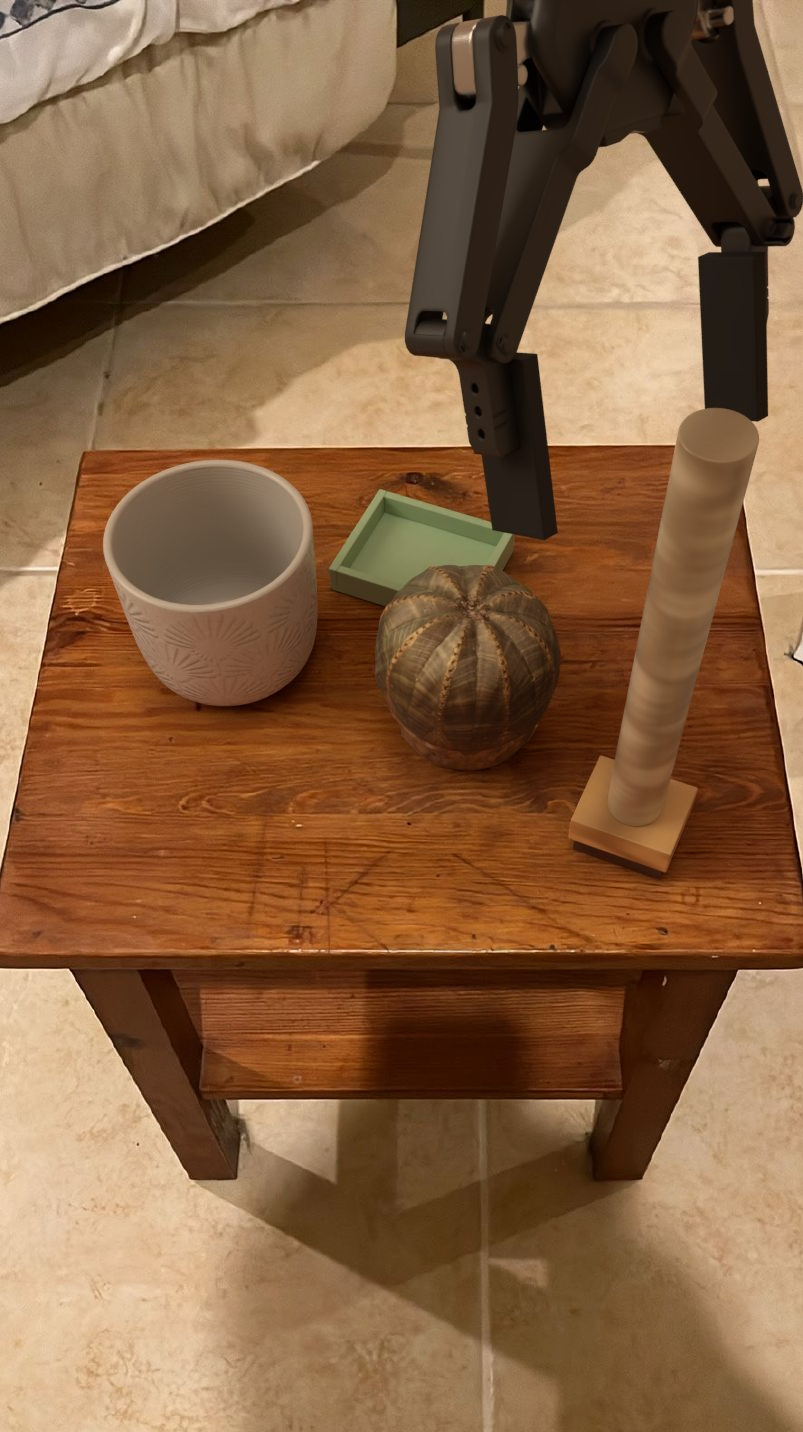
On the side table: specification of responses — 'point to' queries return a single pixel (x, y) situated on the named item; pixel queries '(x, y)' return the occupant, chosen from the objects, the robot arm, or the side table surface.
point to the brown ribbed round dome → (466, 664)
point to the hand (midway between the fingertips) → (637, 471)
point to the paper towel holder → (669, 649)
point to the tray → (411, 546)
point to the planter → (216, 578)
